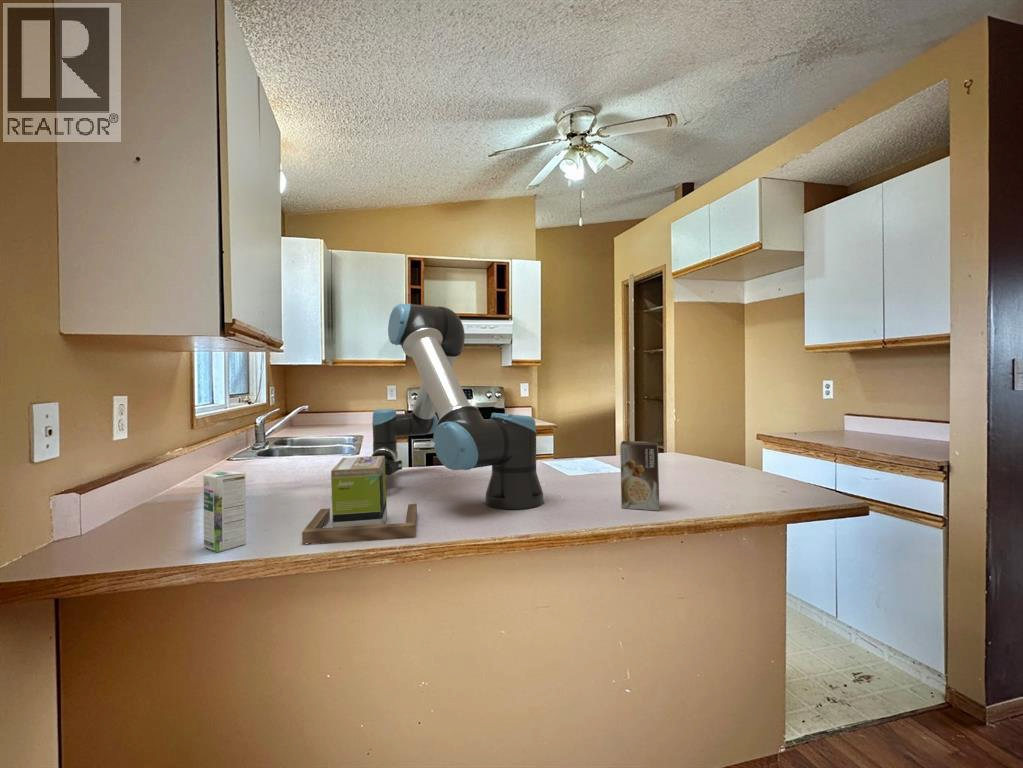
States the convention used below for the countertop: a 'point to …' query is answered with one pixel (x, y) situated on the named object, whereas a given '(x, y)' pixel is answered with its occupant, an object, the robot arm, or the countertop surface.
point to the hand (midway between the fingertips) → (374, 476)
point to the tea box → (359, 491)
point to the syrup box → (224, 510)
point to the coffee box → (639, 475)
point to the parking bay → (358, 529)
